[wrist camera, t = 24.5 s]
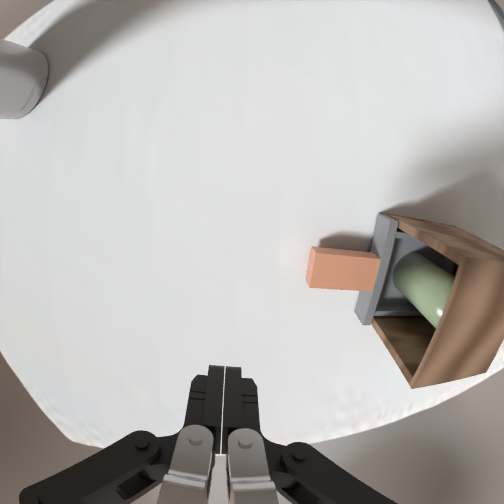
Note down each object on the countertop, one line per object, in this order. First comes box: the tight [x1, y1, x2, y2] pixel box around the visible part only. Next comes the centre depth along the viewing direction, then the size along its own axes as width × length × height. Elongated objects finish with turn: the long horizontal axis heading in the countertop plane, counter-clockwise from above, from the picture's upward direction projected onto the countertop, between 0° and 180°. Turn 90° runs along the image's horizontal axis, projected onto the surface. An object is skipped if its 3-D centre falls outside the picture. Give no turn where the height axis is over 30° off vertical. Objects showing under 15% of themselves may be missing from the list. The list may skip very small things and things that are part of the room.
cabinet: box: [371, 214, 504, 389], centre depth 24 cm, size 11×12×14 cm
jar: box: [393, 252, 455, 328], centre depth 25 cm, size 5×5×10 cm
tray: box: [306, 214, 456, 325], centre depth 29 cm, size 18×12×3 cm, turn 84°
